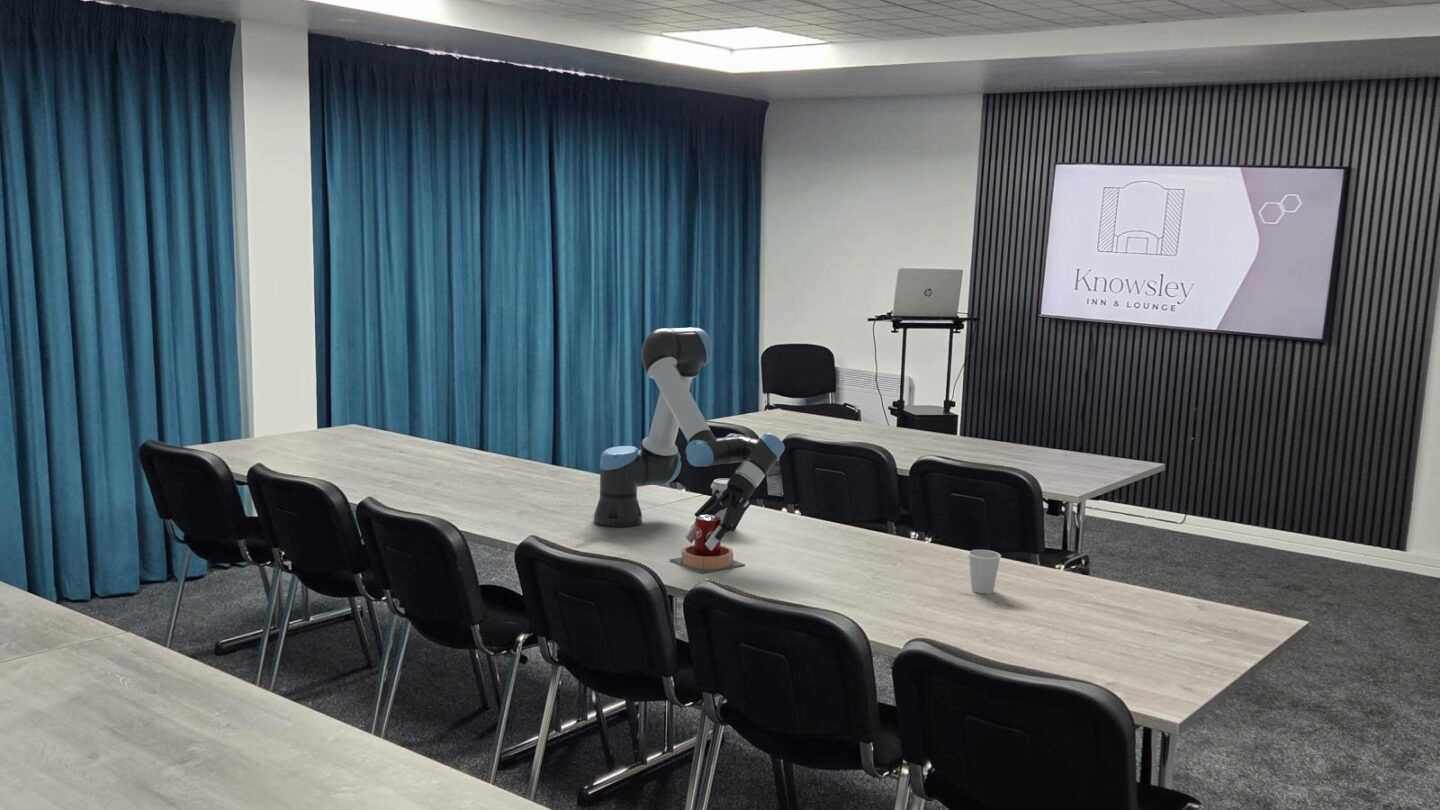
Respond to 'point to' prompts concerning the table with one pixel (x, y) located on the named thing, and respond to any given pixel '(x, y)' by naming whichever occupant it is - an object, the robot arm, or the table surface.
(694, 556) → the bowl
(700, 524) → the soda can
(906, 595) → the table surface
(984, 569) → the dixie cup
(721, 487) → the coffee cup
